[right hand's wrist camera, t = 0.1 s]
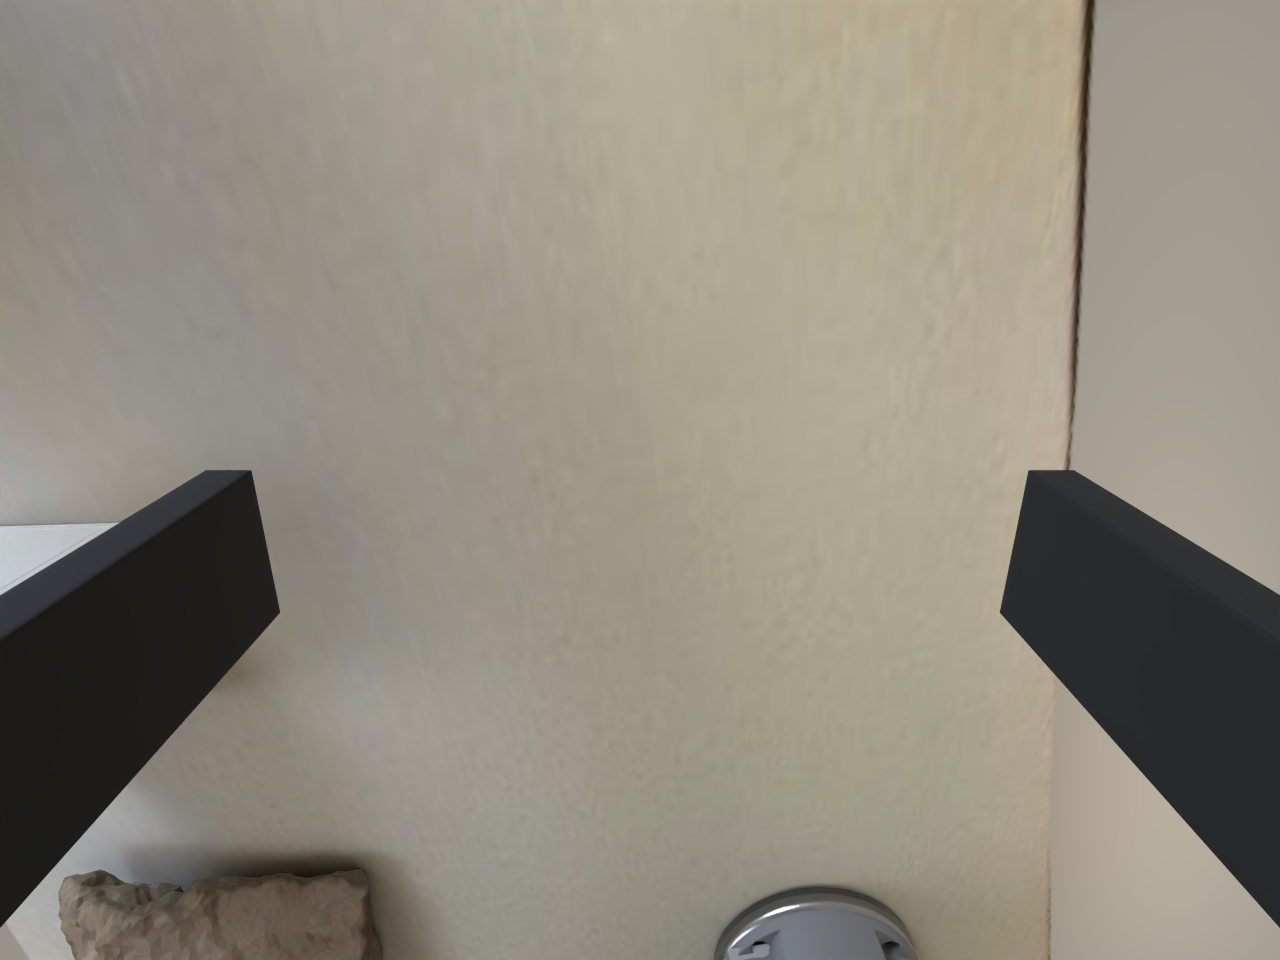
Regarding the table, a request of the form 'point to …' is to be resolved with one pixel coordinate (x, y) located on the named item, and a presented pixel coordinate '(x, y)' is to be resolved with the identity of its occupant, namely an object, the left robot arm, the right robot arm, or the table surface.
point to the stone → (220, 918)
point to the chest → (39, 548)
